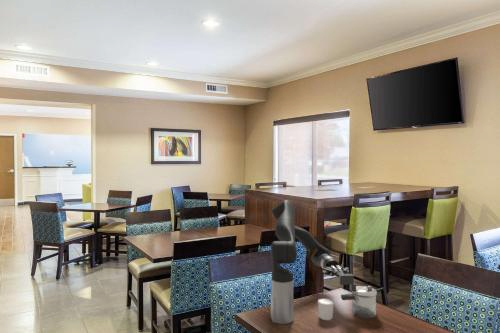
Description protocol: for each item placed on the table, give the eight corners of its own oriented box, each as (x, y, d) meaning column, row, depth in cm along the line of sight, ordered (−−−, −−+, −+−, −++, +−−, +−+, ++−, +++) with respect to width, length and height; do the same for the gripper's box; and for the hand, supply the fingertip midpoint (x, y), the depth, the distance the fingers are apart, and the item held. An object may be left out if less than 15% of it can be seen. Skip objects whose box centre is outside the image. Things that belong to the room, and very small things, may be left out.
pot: (346, 319, 155) (346, 298, 155) (338, 309, 165) (338, 289, 165) (380, 317, 156) (380, 296, 156) (369, 308, 166) (369, 288, 166)
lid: (343, 297, 155) (343, 278, 155) (336, 288, 165) (336, 271, 165) (380, 296, 156) (380, 278, 156) (371, 288, 166) (371, 270, 166)
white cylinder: (334, 321, 153) (334, 304, 153) (317, 320, 154) (317, 303, 154) (333, 314, 160) (333, 298, 159) (317, 313, 161) (317, 297, 161)
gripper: (316, 258, 178) (327, 268, 161) (343, 257, 179) (356, 267, 162) (316, 273, 178) (327, 285, 161) (343, 272, 179) (356, 284, 162)
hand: (342, 276), depth 161 cm, fingers closed
